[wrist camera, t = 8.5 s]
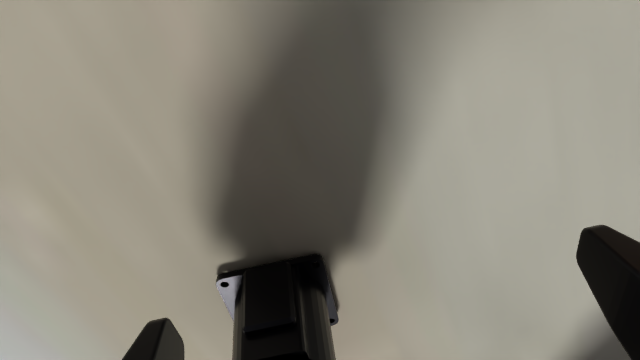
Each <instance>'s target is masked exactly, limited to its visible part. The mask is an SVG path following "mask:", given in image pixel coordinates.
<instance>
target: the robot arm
mask: <svg viewBox="0 0 640 360" xmlns="http://www.w3.org/2000/svg"><path fill="white" fill-rule="evenodd" d="M576 259H577V263H578V265H579V267H580V269H581V271H582V273H583V275H584V277H585V279H586V281H587V283H588V285H589V287H590V289H591V291H592V293H593V295H594V297H595V298H596V300H597V302H598V304H599V306H600V308H601V310H602V312H603V314H604V316H605V318H606V320H607V322H608V323H609V325H610V327H611V329H612V330H613V332H614V334H615V335H616V337H617V338H618V340H619V341H620V343H621V344H622V346H623V347H624V349H625V351H626V352H627V354H628V355H629V357H630V358H631V360H640V242H638V241H636V240H634V239H632V238H630V237H628V236H626V235H624V234H622V233H620V232H618V231H616V230H614V229H612V228H610V227H608V226H605V225H597V226H592V227H587V228H584V229H583V230H582V232H581V235H580V240H579V244H578V249H577V253H576ZM314 262H317V263H314ZM216 287H217V289H218V291H219V293H220V295H221V297H222V299H223V301H224V303H225V305H226V307H227V309H228V311H229V313H230V315H231V317H232V319H233V321H234V330H233V355H232V360H336V358H335V352H334V346H333V339H332V333H331V327H330V326H332V325H335V324H336V323H337V322H338V314H337V310H336V306H335V302H334V298H333V295H332V291H331V287H330V283H329V279H328V275H327V271H326V267H325V264H324V260H323V257H322V256H321V255H318V254H313V255H308V256H304V257H299V258H294V259H290V260H285V261H280V262H276V263H271V264H266V265H262V266H257V267H252V268H248V269H243V270H239V271H234V272H229V273H225V274H221V275H219V276H218V277H217V279H216ZM122 360H184V344H183V340H182V338H181V336H180V335H179V333H178V332H177V330H176V328H175V327H174V325H173V324H172V322H171V321H170V319H168V318H162V319H157V320H152V321H150V322H148V323H147V324H146V326H145V327H144V328H143V330H142V331H141V333H140V334H139V336H138V337H137V339H136V340H135V341H134V343H133V344H132V346H131V347H130V349H129V350H128V352H127V353H126V354H125V356H124V357H123V359H122Z"/></svg>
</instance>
